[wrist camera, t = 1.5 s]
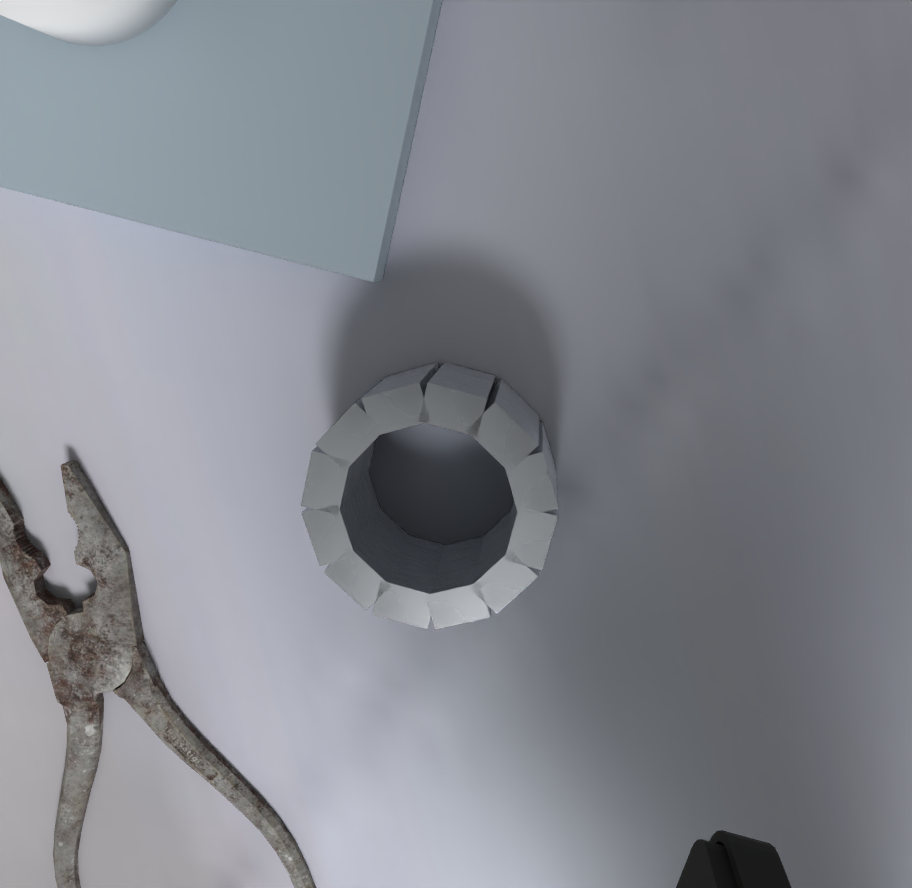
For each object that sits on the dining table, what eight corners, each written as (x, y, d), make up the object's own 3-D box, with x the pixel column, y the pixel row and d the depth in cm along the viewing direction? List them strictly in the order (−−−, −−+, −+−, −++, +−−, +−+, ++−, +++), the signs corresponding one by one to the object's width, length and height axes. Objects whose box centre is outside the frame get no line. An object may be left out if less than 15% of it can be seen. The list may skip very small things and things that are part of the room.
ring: (579, 397, 23) (585, 423, 19) (521, 597, 24) (517, 654, 21) (362, 340, 23) (330, 357, 20) (319, 542, 25) (283, 590, 21)
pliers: (121, 1026, 30) (-180, 560, 26) (133, 1005, 30) (-158, 550, 27) (351, 957, 28) (62, 445, 24) (357, 936, 29) (78, 439, 25)
